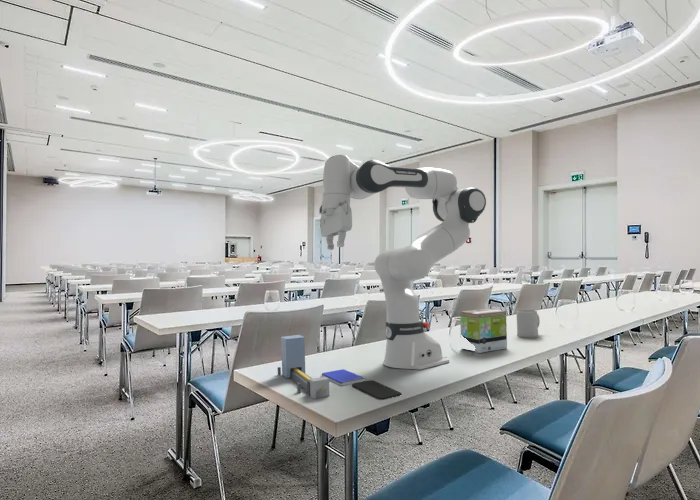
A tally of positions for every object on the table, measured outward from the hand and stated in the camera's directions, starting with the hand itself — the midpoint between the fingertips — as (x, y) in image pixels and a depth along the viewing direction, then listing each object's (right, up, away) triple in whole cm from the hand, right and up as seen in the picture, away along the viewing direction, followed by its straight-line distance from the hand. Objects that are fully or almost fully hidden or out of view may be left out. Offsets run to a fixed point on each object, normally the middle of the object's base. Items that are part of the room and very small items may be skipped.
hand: (335, 248), depth 131 cm
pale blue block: (-13, -40, -1) cm, 42 cm away
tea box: (+56, -39, +28) cm, 74 cm away
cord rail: (-9, -39, -10) cm, 42 cm away
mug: (+85, -39, +52) cm, 106 cm away
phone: (+12, -39, -19) cm, 45 cm away
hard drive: (+3, -40, -6) cm, 40 cm away
